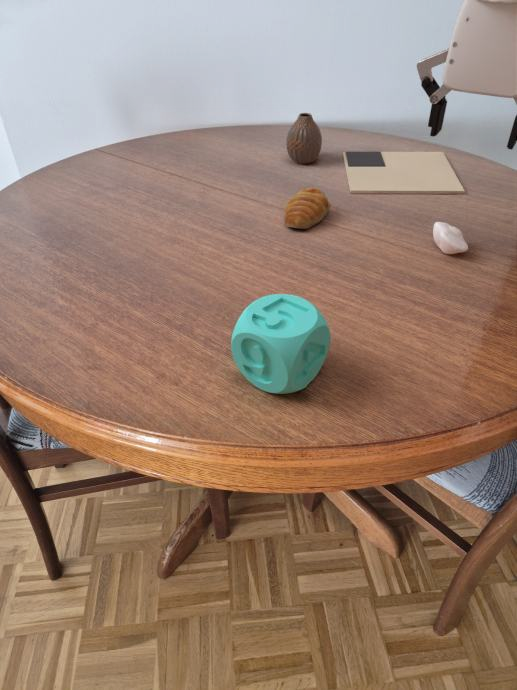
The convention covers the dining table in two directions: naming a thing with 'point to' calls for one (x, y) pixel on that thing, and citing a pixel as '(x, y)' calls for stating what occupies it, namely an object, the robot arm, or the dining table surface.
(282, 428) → the dining table surface
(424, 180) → the mat
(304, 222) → the pastry
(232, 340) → the decorative dice
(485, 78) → the robot arm
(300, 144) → the vase
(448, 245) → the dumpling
